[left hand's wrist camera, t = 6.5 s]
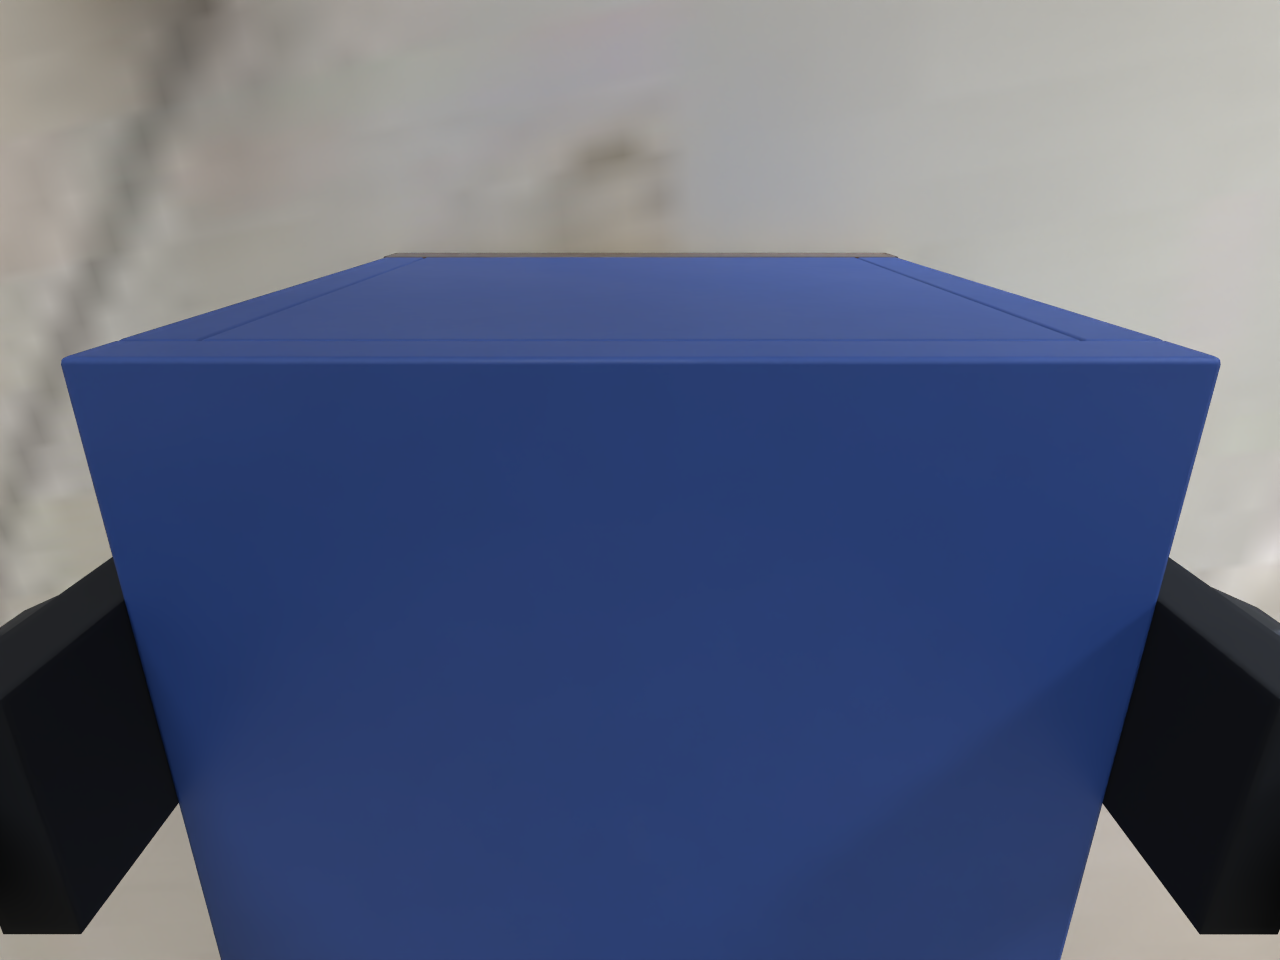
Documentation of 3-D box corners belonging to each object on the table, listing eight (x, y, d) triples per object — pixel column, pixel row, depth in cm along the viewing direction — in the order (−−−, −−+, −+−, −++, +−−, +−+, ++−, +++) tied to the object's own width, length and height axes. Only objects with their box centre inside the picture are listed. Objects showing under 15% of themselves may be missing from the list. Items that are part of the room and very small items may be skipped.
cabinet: (810, 951, 25) (923, 1473, 15) (471, 951, 25) (356, 1472, 15) (885, 252, 17) (1227, 356, 7) (395, 253, 17) (53, 356, 7)
